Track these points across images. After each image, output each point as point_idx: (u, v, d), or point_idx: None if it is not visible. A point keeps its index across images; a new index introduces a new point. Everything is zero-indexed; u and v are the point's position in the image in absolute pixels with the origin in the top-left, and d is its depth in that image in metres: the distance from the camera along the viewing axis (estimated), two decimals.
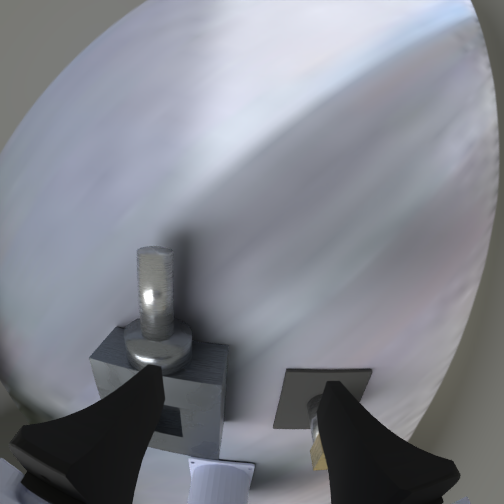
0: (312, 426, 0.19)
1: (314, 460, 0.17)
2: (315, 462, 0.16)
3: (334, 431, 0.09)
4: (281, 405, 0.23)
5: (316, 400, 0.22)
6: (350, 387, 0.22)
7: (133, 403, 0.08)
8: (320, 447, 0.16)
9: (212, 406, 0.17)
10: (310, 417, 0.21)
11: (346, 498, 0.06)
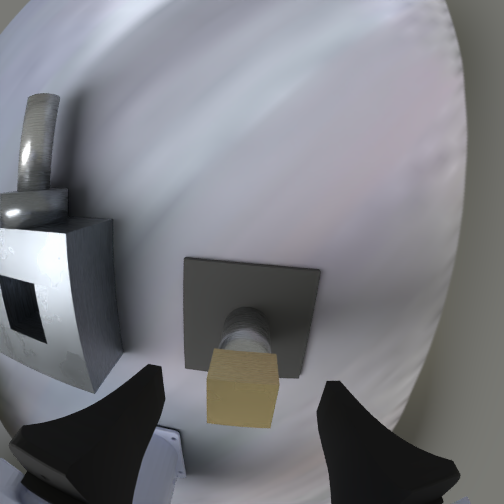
0: (218, 349, 0.14)
1: None
2: None
3: (334, 431, 0.09)
4: (186, 323, 0.17)
5: (233, 314, 0.16)
6: (288, 299, 0.16)
7: (133, 403, 0.08)
8: (209, 371, 0.10)
9: (61, 277, 0.11)
10: (221, 338, 0.15)
11: (346, 498, 0.06)
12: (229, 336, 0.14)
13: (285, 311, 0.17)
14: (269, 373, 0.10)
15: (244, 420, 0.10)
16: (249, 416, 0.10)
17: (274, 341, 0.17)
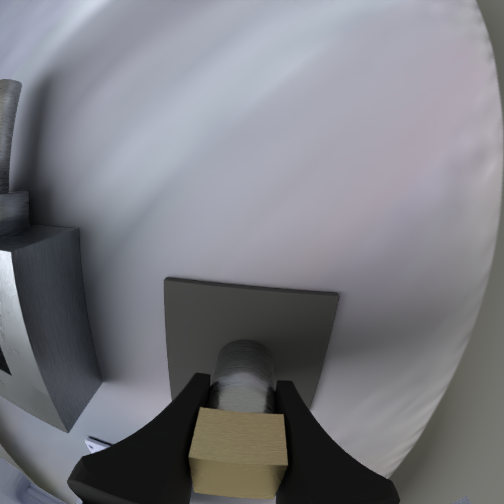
0: (208, 398, 0.10)
1: None
2: None
3: None
4: (171, 357, 0.13)
5: (227, 350, 0.12)
6: (298, 330, 0.13)
7: (193, 416, 0.08)
8: None
9: (12, 305, 0.08)
10: (212, 381, 0.11)
11: None
12: (221, 384, 0.10)
13: (293, 345, 0.13)
14: (274, 447, 0.07)
15: (241, 493, 0.07)
16: (247, 490, 0.06)
17: (278, 378, 0.13)
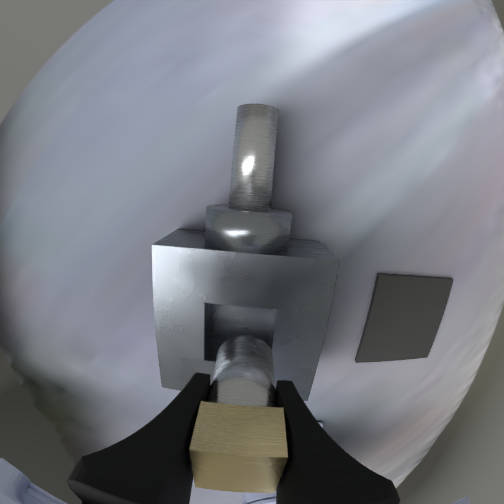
0: (209, 393, 0.10)
1: None
2: None
3: None
4: (369, 325, 0.20)
5: (228, 345, 0.12)
6: (435, 299, 0.20)
7: (193, 416, 0.08)
8: None
9: (322, 299, 0.15)
10: (212, 377, 0.11)
11: None
12: (222, 379, 0.10)
13: (431, 308, 0.20)
14: (274, 439, 0.07)
15: (242, 487, 0.07)
16: (248, 484, 0.07)
17: (421, 330, 0.20)
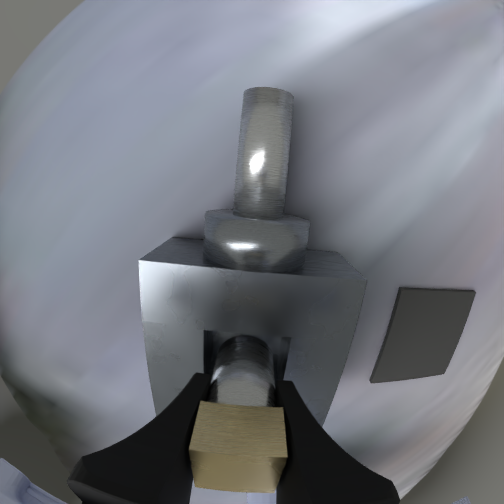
0: None
1: None
2: None
3: None
4: (387, 344, 0.17)
5: (228, 345, 0.12)
6: (456, 313, 0.17)
7: (193, 416, 0.08)
8: None
9: (345, 325, 0.12)
10: (212, 377, 0.11)
11: None
12: (222, 379, 0.10)
13: (452, 323, 0.17)
14: (274, 439, 0.07)
15: (241, 487, 0.07)
16: (248, 484, 0.07)
17: (440, 347, 0.18)
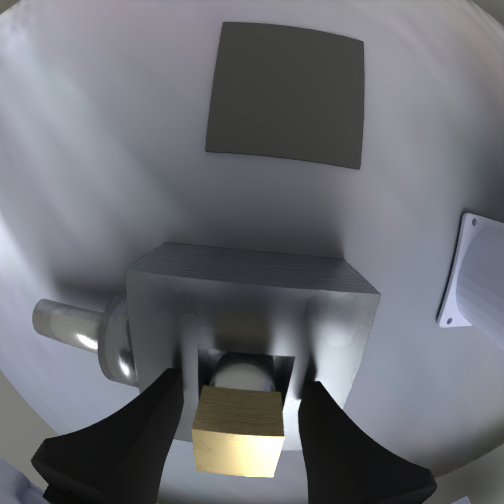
0: (211, 380, 0.11)
1: None
2: None
3: (311, 432, 0.09)
4: (291, 154, 0.13)
5: None
6: (254, 45, 0.12)
7: (158, 409, 0.08)
8: None
9: (179, 291, 0.10)
10: (214, 366, 0.12)
11: (320, 501, 0.06)
12: (223, 366, 0.11)
13: (270, 47, 0.12)
14: (272, 420, 0.08)
15: (241, 470, 0.07)
16: (247, 466, 0.07)
17: (310, 58, 0.12)
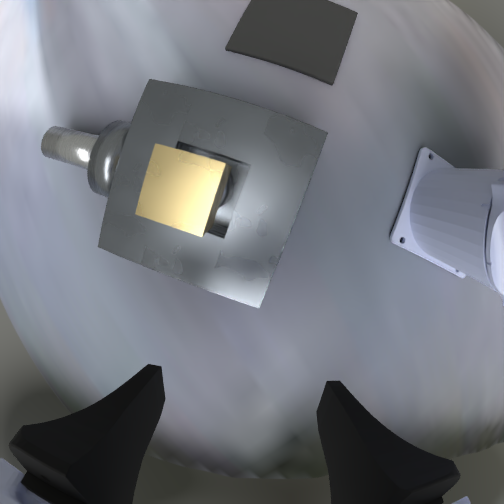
0: None
1: None
2: None
3: (334, 431, 0.09)
4: (284, 62, 0.16)
5: None
6: None
7: (133, 403, 0.08)
8: None
9: (181, 95, 0.12)
10: None
11: (346, 498, 0.06)
12: None
13: (289, 1, 0.14)
14: None
15: (176, 215, 0.10)
16: (183, 208, 0.10)
17: (315, 13, 0.14)
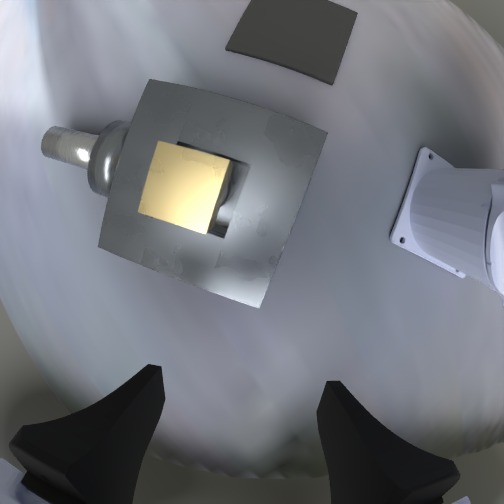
0: None
1: None
2: None
3: (334, 431, 0.09)
4: (284, 62, 0.16)
5: None
6: None
7: (133, 403, 0.08)
8: None
9: (181, 95, 0.12)
10: None
11: (346, 498, 0.06)
12: None
13: (289, 1, 0.14)
14: None
15: (179, 212, 0.10)
16: (186, 205, 0.10)
17: (315, 13, 0.14)
